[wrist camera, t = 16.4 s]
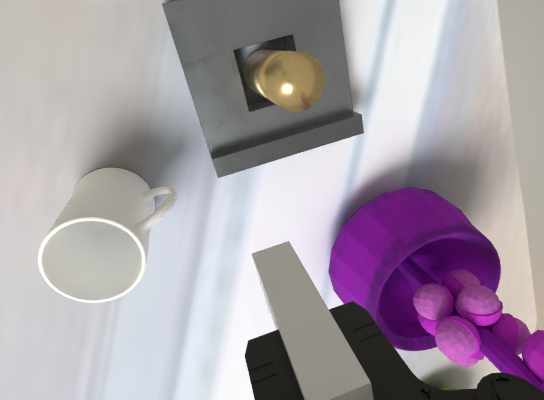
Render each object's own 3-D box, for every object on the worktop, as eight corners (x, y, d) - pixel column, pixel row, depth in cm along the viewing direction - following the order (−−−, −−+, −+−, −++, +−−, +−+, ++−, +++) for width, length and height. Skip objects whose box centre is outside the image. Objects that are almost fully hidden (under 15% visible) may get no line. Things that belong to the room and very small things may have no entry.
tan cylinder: (238, 55, 38) (263, 60, 27) (278, 44, 38) (319, 44, 27) (249, 98, 40) (277, 118, 29) (287, 87, 40) (329, 103, 29)
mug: (159, 141, 39) (154, 179, 28) (194, 207, 43) (202, 262, 32) (54, 187, 38) (8, 243, 28) (99, 250, 42) (75, 321, 31)
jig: (162, 6, 34) (161, 1, 30) (321, -33, 36) (342, -43, 32) (213, 163, 41) (218, 177, 37) (344, 123, 43) (363, 132, 39)
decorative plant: (391, 149, 46) (690, 296, 20) (463, 226, 54) (745, 406, 28) (291, 256, 49) (434, 516, 22) (373, 315, 57) (552, 558, 30)
